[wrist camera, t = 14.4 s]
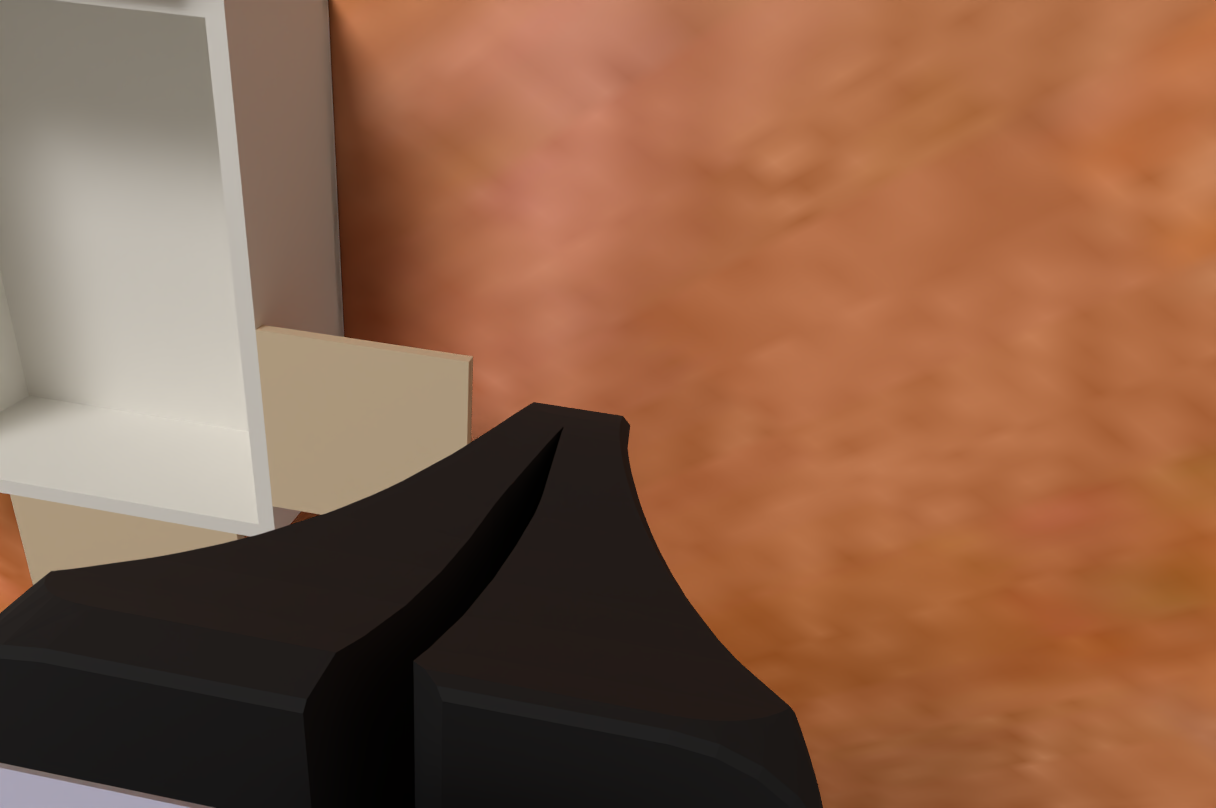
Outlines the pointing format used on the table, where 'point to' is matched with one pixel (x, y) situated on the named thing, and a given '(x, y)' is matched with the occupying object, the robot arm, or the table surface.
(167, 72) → the carton
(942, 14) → the table surface
